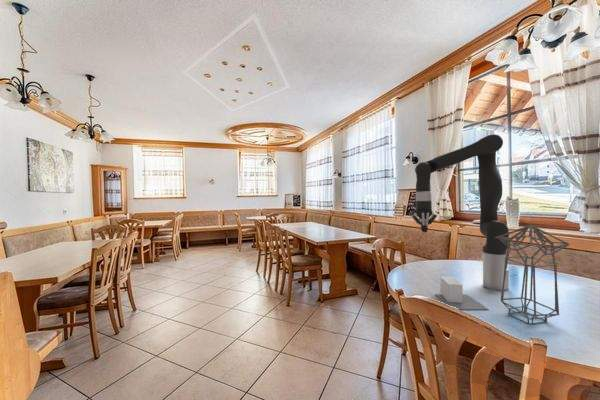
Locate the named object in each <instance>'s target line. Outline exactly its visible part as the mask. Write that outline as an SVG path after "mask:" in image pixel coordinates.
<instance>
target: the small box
mask: <svg viewBox="0 0 600 400" xmlns="http://www.w3.org/2000/svg"><path fill="white" fill-rule="evenodd" d="M439 282H440V288H439V289H440V290H439V291H440V293H439V294H442V295H443V296H444V297H445V299H446V300H447V301H448V302H457V303H462V294H463V284H462V283H460V282H459V281H458V280H457V279H456V278H455V277H453V276H440V278H439Z"/></svg>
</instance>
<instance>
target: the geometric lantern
mask: <svg viewBox="0 0 600 400" xmlns="http://www.w3.org/2000/svg"><path fill="white" fill-rule="evenodd" d="M527 231H529V232H528V235H526V233H527ZM515 233H516V234H515ZM508 234H509V235H511V234H514V235H512V236H510V237H509V238H507V237H502V236H505V235H508ZM547 236H548V237H551V238H554V239H555V240H557V241H552V240H550V239H549V238H548V237H547ZM496 238H498V239H499V240H500V241H502V242H503V243H504V244H505V245H506V246H507V247H508V249H507V250H506V258H504V259H505V266H504V277H503V286H502V290H501V293H500V302H501V303H502V304H503V305H504V306H505V307H506V308H507V310H508V313H507V314H508V315H509V317H512V318H515V319H516V320H518V321H519V322H520V321H521V322H523V323H525V324H527V325H532V324H533V325H537V324H538V325H539V324H544V323H545V322H546V323H548V318H552V317H555V316H556V317H557V316H560V307H559V291H558V264H557V261H556V259H555V254H557V253H558V252H560V251H562V250H563V249H565V248H567V247H569V246H570V243H568V242H566V241H564V240H562V239H561V238H559V237H557V236H555V235H552V234H551V233H549V232H546V231H545V230H543V229H541V228H539V227H537V226H534V225H526V226H523V227H520V228H518V229H517V228H516V229H515V230H513V231H509V233H506V234H503V235H500V236H497V237H496ZM526 238H529V243H522V242H523V241H524V240H525V239H526ZM508 239H509V240H508ZM514 239H515V241H513V240H514ZM505 240H506V241H505ZM507 241H508V242H507ZM539 241H540V242H539ZM505 242H506V243H507V244H506V243H505ZM533 242H535V243H536V245H534V244H533ZM546 243H548V244H549V246H547V245H546ZM554 244H558V245H554ZM511 246H513V248H511ZM521 246H522V247H521ZM516 247H518V248H516ZM529 247H534V248H536V247H537V248H538V250H537V251H535V253H533V255H532V256H528V255H527V253H526V252H525V251H524V250H523V249H526V248H529ZM511 251H515V252H516V253H517V254H518V256H509V255H510V253H511ZM519 251H521V252H523V254H524V255H523V256H522V254H521V253H520V252H519ZM548 251H550V252H548ZM539 252H542V253H543V254H542V255H541V256H540V257H539V258H535V256H536V255H537V254H538V253H539ZM550 255H551V256H552V257H551V258H552V262H550V261H548V260H547V261H546V260H544V259H543V260H542V258H543V257H544V256H550ZM514 258H516V259H517V258H519V259H521V260H522V262H523V263H522V262H519V261H516V260H511V259H514ZM528 259H531V263H530V264H528V263H527V262H528ZM534 260H535V262H534ZM509 261H510V262H514V263H517V264H519V265H523V267H524V268H523V276H522V285H521V286H522V288H521V295H520V297H509V298H507V297H506V298H504V295H505V290H504V286H505V278H506V271H507V269H508V264H509V263H508V262H509ZM539 261H540V262H543V263H548V264H550V265H548V264H547V265H536V264H537V263H538V262H539ZM529 267H530V287H529V288H530V289H529V290H530V291H529V292H530V293H529V298H527V295H528V276H529ZM540 267H541V268H543V267H553V271H554V272H553V273H554V308H552V307H550V306H547V305H545V304H543V303H540V302H538V301H537V299H536V297H537V296H536V295H537V294H536V268H540ZM508 300H520V302H521V306H517V307H514V306H513V305H512V304H509V303H507V302H505V301H508ZM527 301H528V302H527ZM531 302H533V309H531V308H529V305H530V303H531ZM537 305H540V306H542V307H545V308H546V309H549V310H551V312H549V313H545V314H544V313H541V312H539V311H537ZM520 308H521V310H520ZM513 309H514V310H513ZM515 310H516V311H515ZM527 310H530V311H532V312H533V313H529V312H528V311H527ZM511 311H512V312H511ZM513 314H517V315H520V316H522V317H523V318H525V319H527V321H525V320H523V319H521V318H519V317H516V316H514V315H513ZM528 316H532V317H531V318H530V317H528ZM539 319H540V320H543V321H538V322H534V320H539ZM530 320H531V323H530ZM546 323H545V324H546Z"/></svg>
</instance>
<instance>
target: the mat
mask: <svg viewBox="0 0 600 400" xmlns="http://www.w3.org/2000/svg"><path fill="white" fill-rule="evenodd" d="M434 295H435V297H437V298H438V299H439V300H440V301H441V302H443V303H444V304H445V303H446V304H448V305H450V306H453V307H456V308H458V309H460V310H459V311H489V308H488V307H486V306H485V305H484V304H482V303H481V302H479V301H477V300H476V299H475V298H473V297H472V296H470V295H468V294H466V293H462V303H457V302H448V301H447V300H446V299H445V297H444V296H443V295H442V294H441V293H435V294H434ZM446 304H445V305H446Z"/></svg>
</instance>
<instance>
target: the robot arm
mask: <svg viewBox="0 0 600 400" xmlns="http://www.w3.org/2000/svg"><path fill="white" fill-rule="evenodd" d="M503 146H504V139H503V138H502V136H500V135H499V134H496V133H491V134H487V135H485V136H482V137H481V138H480V139H478V140H477V141H475V142H473V143H471V144H469V145H466V146H464V147H461V148H458V149H455V150H451V151H449V152H446V153H443V154H441V155H438V156H436V157H434V158H433V159H430V160H428V161H423V162H420V163H419V162H418V163H417V165H416V166H415V168H414V172H415V175H416V176H415V177H416V182H415V212H414V213H413V214H411V218H412V219H413V221H415V223H416V224H417V225H420V231H421V232H422V233H427V232H428V231H429V230H428V226H429V225H431V224H432V223H434V221H435V219H436V218H437V217H438V215H437V214H435V213H434V212H433V210H432V209H433V208H432V205H433V204H432V192H431V175H432V173H434V172H437V171H440V170H443V169H446V168H449V167H451V166H454V165H457V164H459V163H462V162H464V161H466V160H469V159H472V158H474V157H477V163H478V189H479V190H478V192H479V204H480V214H479V215H480V218H479V231H480V234H481V235H482V236H484V237H486V242H485V245H483V246H482V286H483V287H485V288H487V289H490V290H494V291H502V286H503V277H504V266H505V259H504V258H506V254H507V250H508V247H507V246H506V245H505V244H504V243H503V242H502V241H500V240H499V239H498V238H496V237H497V236H500V235H503V234H506V233H509V232H510V230H509V227H508V225H507V224H506V223H505V222H503V221H500V220H499V219H498V218H499V217H498V216H499V215H498V208H499V205H500V202H501V200H502V196H503V181H502V180H503V179H502V176H501V174H500V171H499V169H498V167H497V152H498V151H500V150H501V148H502V147H503ZM502 237H507V238H510V234H508V235H505V236H502ZM508 240H509V239H508ZM505 241H506V240H505ZM507 242H508V241H507ZM505 243H506V242H505ZM508 243H509V242H508ZM506 244H507V243H506ZM509 271H510V270H509V269H508V268H507V271H506V278H505V286H504V291H507V290H510V288H509V286H510V284H509V281H510V279H509V277H510V275H509Z"/></svg>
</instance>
